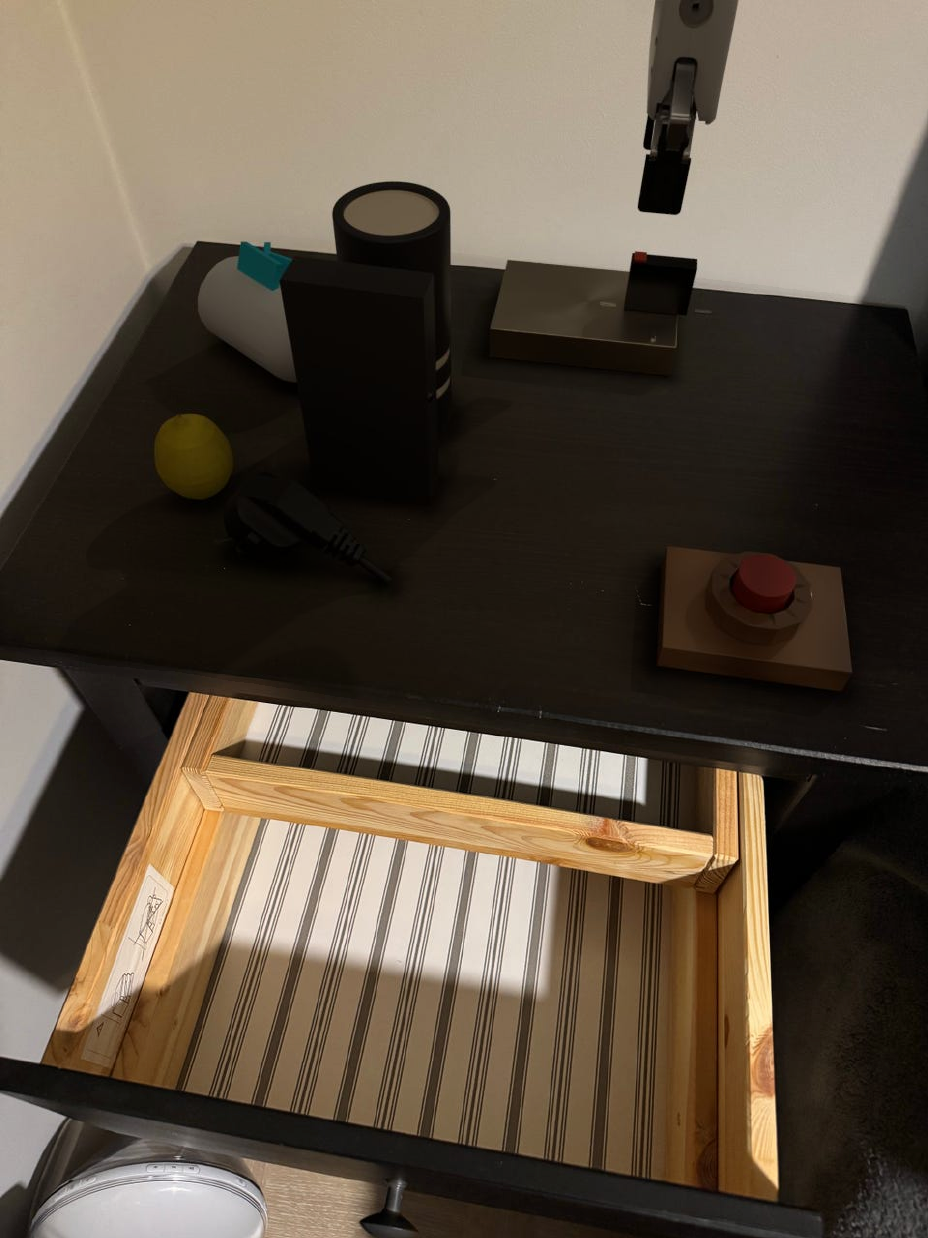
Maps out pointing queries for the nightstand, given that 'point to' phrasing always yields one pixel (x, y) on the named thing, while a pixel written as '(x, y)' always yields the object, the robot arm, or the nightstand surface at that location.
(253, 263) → the mug
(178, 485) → the fruit
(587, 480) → the nightstand surface
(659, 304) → the black boxy piece
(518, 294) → the panel
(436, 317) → the light fixture
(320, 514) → the power plug
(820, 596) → the red push button box
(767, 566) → the button
